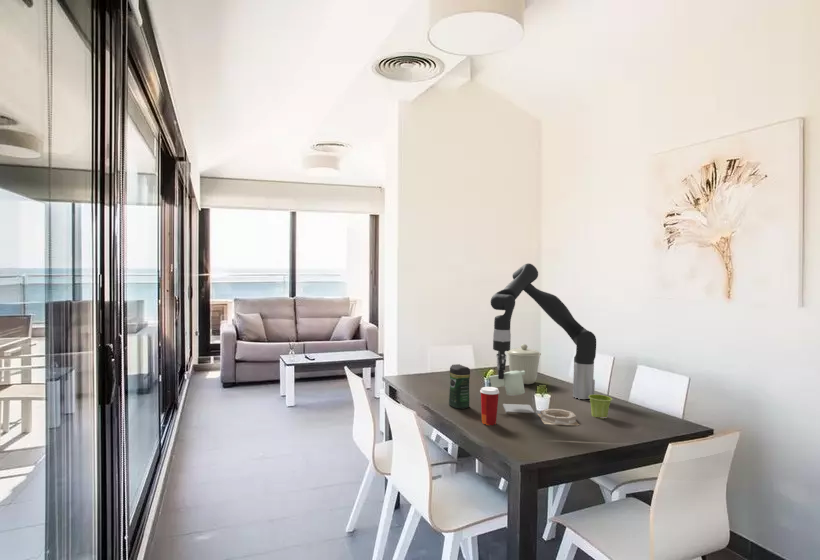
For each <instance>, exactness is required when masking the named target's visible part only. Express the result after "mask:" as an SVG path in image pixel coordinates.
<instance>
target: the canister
mask: <svg viewBox="0 0 820 560" xmlns="http://www.w3.org/2000/svg"><path fill="white" fill-rule="evenodd" d="M506 352H507V356H508V367H509V371H525V374H524V375H522V379H523V384H524V385H532V384H534V383H535V382H536V381H537V377H538V371H539V366H540V365H539V364H540V356H541V355H542V352H539V351H538V350H536V349H534V348H533V349H532V348H528V345H527V344H525V343H522V344H521V345H520V347H518V348H517V347H516V348H512V349H511V348H510V351H506Z"/></svg>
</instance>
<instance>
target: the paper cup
mask: <svg viewBox="0 0 820 560" xmlns="http://www.w3.org/2000/svg"><path fill="white" fill-rule="evenodd" d="M479 392H480V410H481V423H483V424H482V425H484V424H486V425H485V426H490V425H491V426H495V425H496V424H497V416H498V405H499V404H498V403H499V395H500V391H499V387H491V386H484V387H483V386H482V387H481V388H480V390H479ZM494 424H495V425H494Z"/></svg>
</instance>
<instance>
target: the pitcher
mask: <svg viewBox="0 0 820 560" xmlns="http://www.w3.org/2000/svg"><path fill="white" fill-rule="evenodd" d="M524 374H525V371H510V370H509V371H506V372H505V371H504V379H499V378H498V374H496V375H494V374H493V375H489V381H490V387H495V388H500V387H502V388H503V387H504V389H505V393H506V396H510V397H511V396H514V397H515V396H521V395H523V394H525V392H526V391H525V384H523V379H522V375H524Z"/></svg>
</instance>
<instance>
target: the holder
mask: <svg viewBox="0 0 820 560" xmlns="http://www.w3.org/2000/svg"><path fill="white" fill-rule="evenodd" d="M537 415H538V417H539V419H540V420H541V421H542V423H543V424H544V425H555V426H557V425H558V426H559V425H560V426H578V425H580V423H578V421H577V415H576V414H575V413H574V411H570V410H567V409H566V410H565V409H562V408H545V409H543V410H540V413H537Z"/></svg>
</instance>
